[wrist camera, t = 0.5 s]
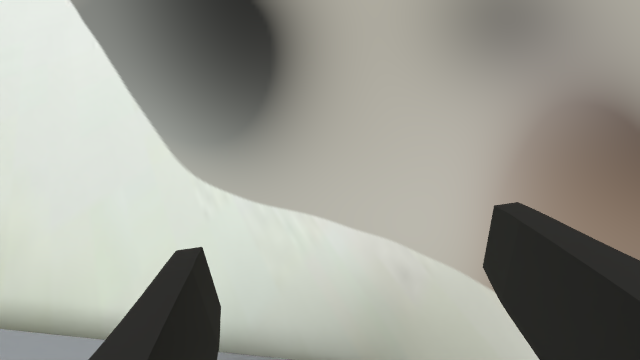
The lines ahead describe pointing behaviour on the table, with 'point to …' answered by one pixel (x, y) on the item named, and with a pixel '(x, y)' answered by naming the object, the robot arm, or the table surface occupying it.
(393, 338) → the table surface
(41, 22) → the table surface
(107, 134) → the table surface
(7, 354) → the panel
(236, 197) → the table surface
